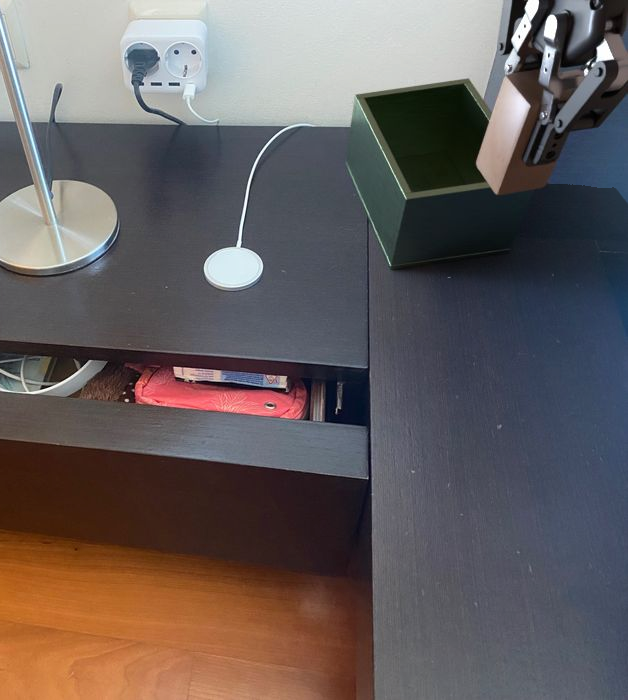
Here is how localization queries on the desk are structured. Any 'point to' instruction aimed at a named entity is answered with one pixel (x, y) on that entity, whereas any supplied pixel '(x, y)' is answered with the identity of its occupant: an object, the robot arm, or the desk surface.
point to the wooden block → (514, 135)
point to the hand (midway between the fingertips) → (522, 140)
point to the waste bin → (429, 175)
